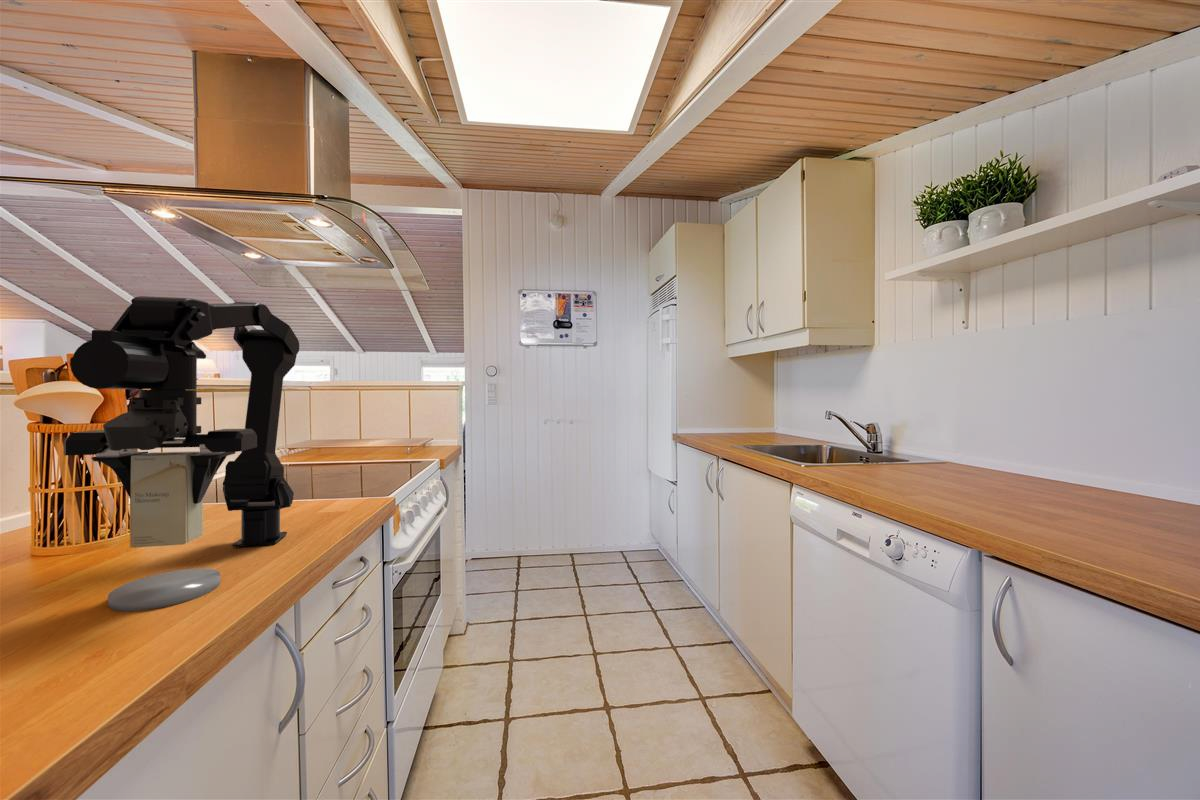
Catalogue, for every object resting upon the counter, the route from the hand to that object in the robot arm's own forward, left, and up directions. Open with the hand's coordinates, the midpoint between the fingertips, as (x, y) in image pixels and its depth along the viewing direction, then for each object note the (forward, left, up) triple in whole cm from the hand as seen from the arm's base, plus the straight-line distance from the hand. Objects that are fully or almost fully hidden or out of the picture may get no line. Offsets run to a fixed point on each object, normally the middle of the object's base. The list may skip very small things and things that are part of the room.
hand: (168, 504), depth 62 cm
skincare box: (0, 0, -5) cm, 5 cm away
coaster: (0, 0, -12) cm, 12 cm away
